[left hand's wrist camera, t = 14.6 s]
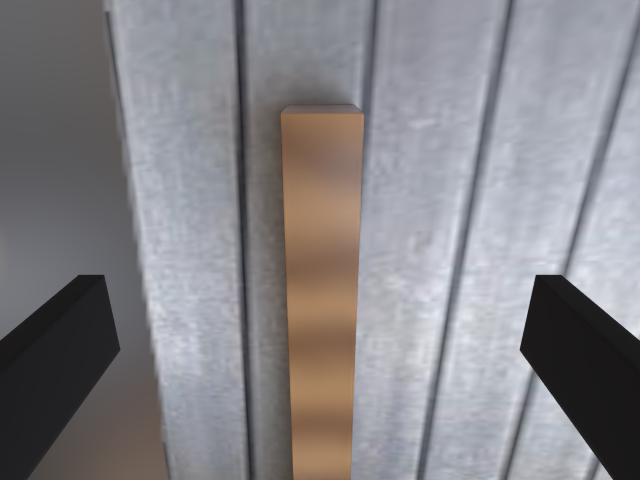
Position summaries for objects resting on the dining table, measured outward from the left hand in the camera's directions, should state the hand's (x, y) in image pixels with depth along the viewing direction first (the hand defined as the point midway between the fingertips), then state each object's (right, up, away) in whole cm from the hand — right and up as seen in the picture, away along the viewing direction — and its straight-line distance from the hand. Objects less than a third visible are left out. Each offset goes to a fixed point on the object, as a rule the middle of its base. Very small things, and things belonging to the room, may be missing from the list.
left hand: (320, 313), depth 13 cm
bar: (0, -12, +32) cm, 35 cm away
